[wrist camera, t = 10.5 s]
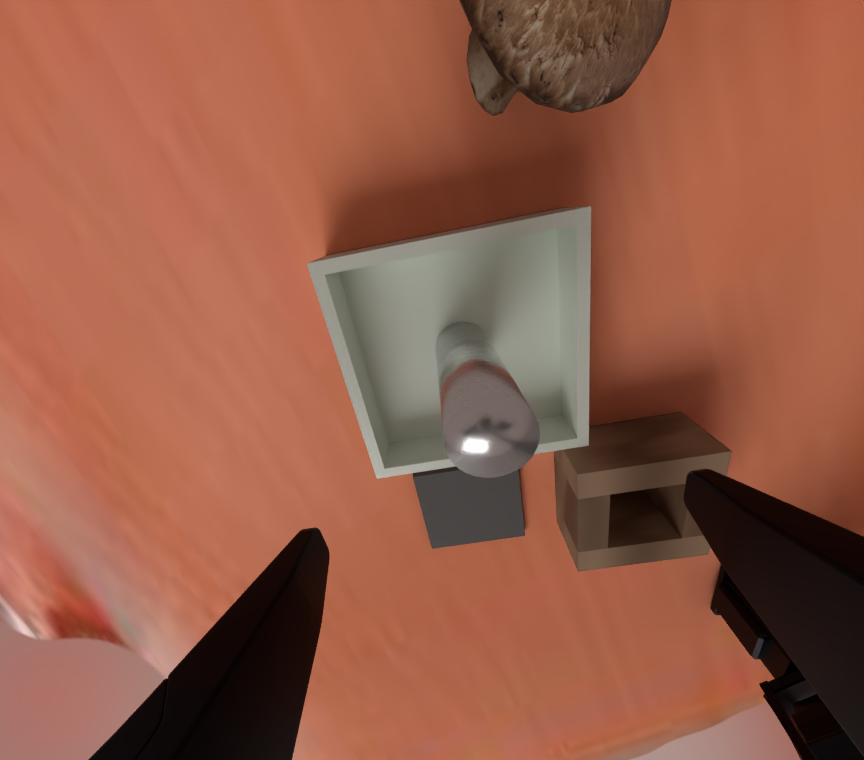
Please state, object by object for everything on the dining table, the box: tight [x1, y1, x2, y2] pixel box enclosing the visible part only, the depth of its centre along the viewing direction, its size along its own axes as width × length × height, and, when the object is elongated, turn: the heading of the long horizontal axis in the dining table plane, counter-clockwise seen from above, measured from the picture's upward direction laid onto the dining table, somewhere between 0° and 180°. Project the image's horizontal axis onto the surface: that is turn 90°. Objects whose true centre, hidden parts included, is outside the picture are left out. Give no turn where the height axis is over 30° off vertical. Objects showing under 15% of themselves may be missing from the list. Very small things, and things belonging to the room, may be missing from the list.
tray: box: [307, 206, 591, 479], centre depth 18 cm, size 12×12×3 cm
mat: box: [413, 467, 525, 549], centre depth 25 cm, size 7×7×1 cm
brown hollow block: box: [554, 412, 732, 572], centre depth 22 cm, size 8×8×4 cm
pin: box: [435, 322, 540, 478], centre depth 15 cm, size 3×3×9 cm
